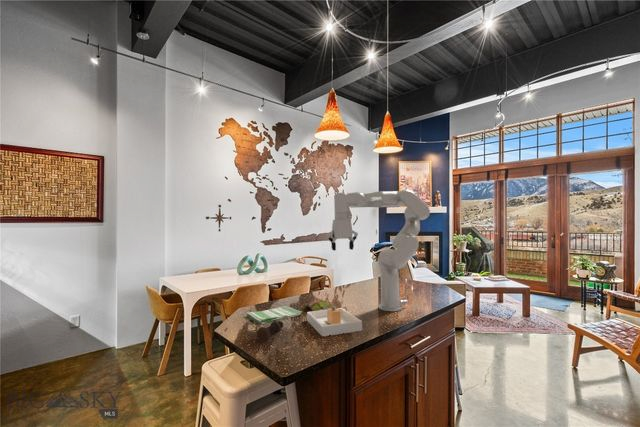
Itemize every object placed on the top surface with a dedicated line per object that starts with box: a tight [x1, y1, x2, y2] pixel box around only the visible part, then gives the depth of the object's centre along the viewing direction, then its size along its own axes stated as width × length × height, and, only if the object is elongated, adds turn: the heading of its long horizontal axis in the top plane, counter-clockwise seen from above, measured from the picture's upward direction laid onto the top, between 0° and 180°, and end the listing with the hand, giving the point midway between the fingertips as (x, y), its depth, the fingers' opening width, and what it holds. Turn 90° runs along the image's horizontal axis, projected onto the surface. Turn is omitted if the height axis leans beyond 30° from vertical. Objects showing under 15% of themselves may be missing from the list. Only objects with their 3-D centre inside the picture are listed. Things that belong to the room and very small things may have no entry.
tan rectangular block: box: [327, 305, 341, 325], centre depth 133 cm, size 4×6×8 cm, turn 19°
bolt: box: [256, 320, 284, 342], centre depth 125 cm, size 6×5×15 cm
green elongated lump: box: [304, 297, 333, 312], centre depth 157 cm, size 12×7×25 cm
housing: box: [306, 307, 363, 338], centre depth 134 cm, size 18×22×4 cm
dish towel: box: [245, 305, 303, 325], centre depth 151 cm, size 18×23×3 cm
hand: (342, 249), depth 153 cm, fingers open, 9 cm apart
